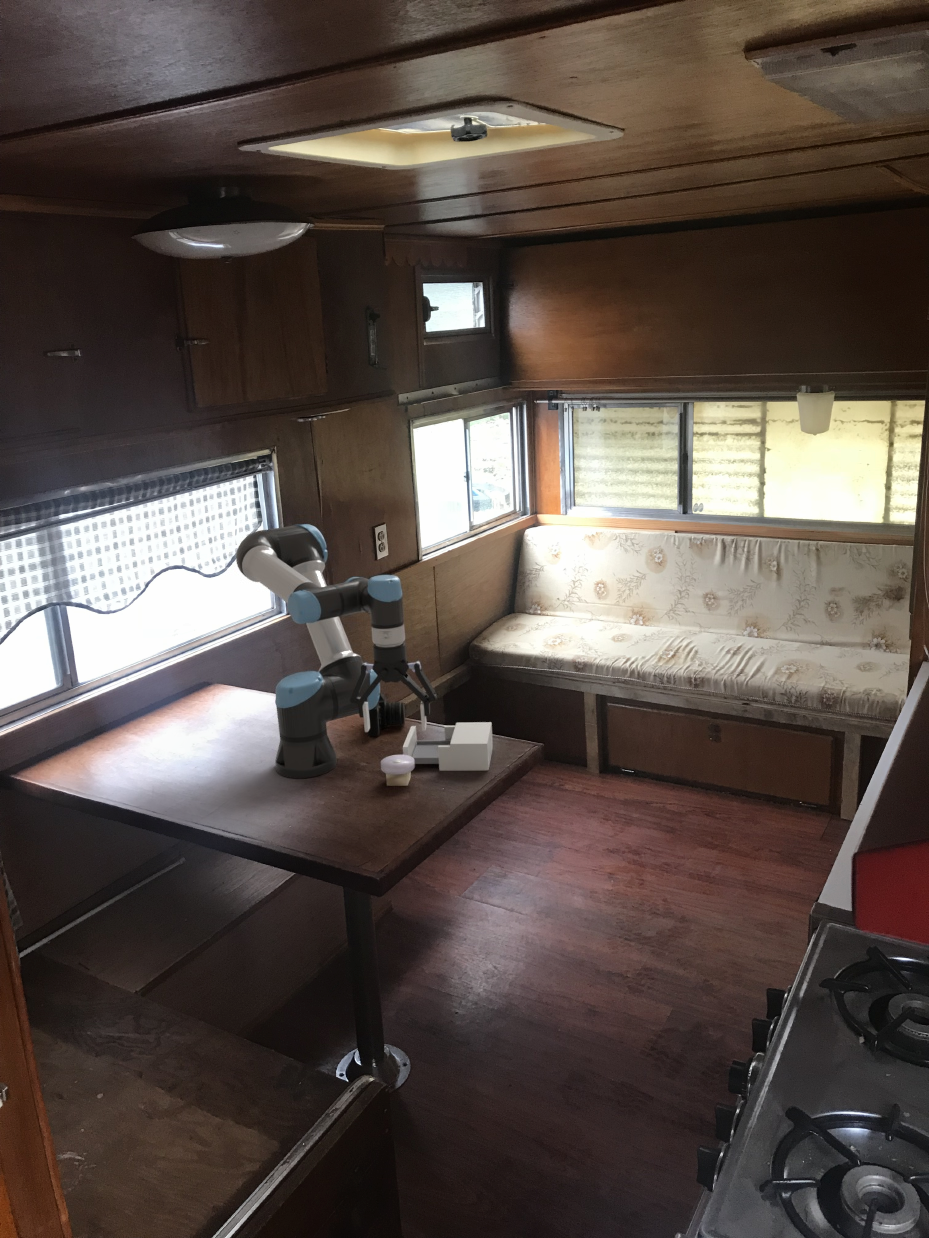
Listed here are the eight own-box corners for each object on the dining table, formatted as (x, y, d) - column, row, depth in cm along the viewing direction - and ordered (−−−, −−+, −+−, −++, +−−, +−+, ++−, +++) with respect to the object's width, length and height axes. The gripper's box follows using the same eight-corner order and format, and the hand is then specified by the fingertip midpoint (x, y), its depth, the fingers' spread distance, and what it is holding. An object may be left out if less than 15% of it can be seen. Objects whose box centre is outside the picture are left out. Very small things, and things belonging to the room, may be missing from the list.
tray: (401, 769, 242) (400, 747, 241) (410, 747, 255) (409, 726, 254) (452, 769, 241) (450, 746, 239) (458, 747, 254) (456, 725, 252)
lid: (378, 774, 232) (377, 768, 232) (384, 760, 240) (384, 754, 239) (412, 774, 231) (411, 768, 231) (417, 760, 239) (416, 754, 238)
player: (439, 770, 241) (437, 743, 239) (446, 748, 254) (444, 722, 253) (488, 770, 240) (487, 743, 238) (492, 747, 253) (491, 722, 251)
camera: (403, 736, 264) (401, 701, 261) (363, 738, 264) (360, 703, 261) (407, 717, 277) (404, 684, 275) (369, 719, 278) (366, 685, 275)
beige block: (386, 785, 234) (385, 771, 233) (390, 776, 239) (389, 763, 238) (407, 785, 234) (406, 771, 233) (410, 776, 238) (410, 763, 238)
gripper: (332, 648, 225) (340, 736, 230) (440, 646, 222) (446, 734, 228) (339, 639, 232) (347, 724, 238) (444, 636, 229) (450, 722, 235)
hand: (395, 729), depth 233 cm, fingers open, 13 cm apart
